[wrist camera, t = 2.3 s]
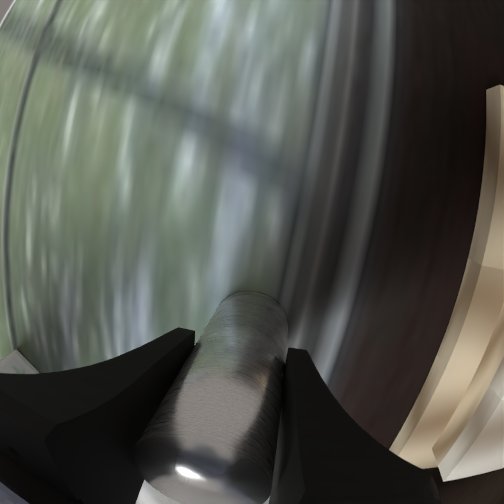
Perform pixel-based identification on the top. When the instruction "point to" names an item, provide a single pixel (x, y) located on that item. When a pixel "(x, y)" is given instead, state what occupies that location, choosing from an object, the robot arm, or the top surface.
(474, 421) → the collar stand
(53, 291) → the top surface
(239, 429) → the tube
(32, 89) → the top surface
